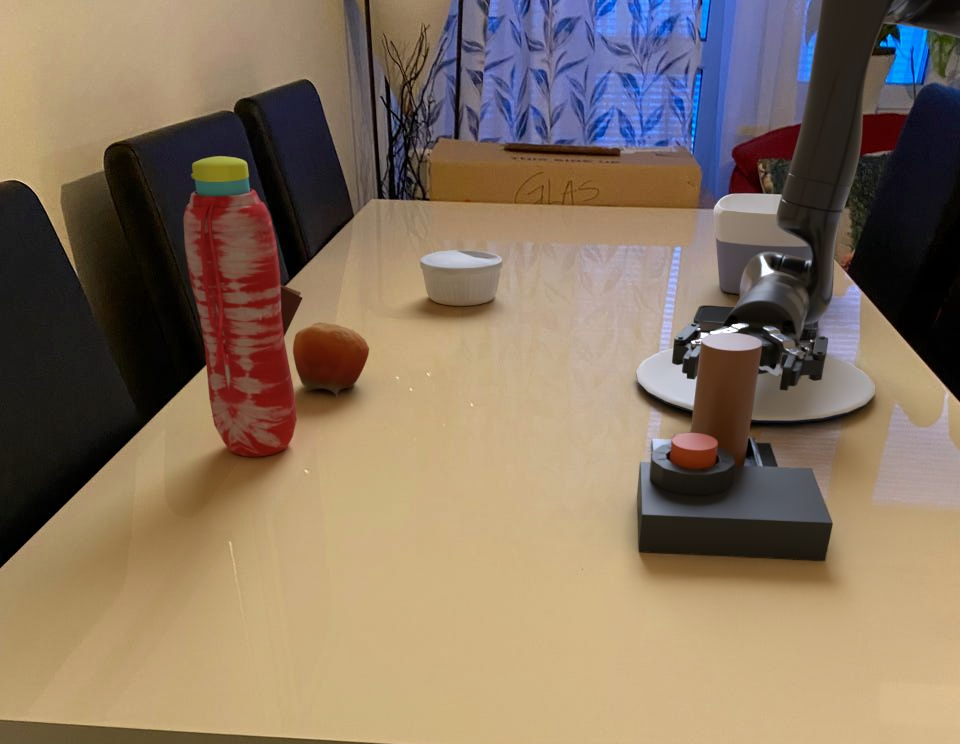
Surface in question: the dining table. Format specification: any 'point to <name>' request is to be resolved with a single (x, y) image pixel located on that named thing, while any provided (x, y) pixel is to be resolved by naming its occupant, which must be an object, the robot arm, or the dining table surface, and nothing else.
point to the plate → (769, 390)
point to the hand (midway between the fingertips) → (737, 374)
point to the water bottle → (240, 308)
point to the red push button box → (730, 509)
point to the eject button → (693, 450)
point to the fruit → (329, 356)
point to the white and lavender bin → (749, 235)
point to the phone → (716, 316)
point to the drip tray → (754, 455)
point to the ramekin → (461, 276)
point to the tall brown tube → (726, 390)
